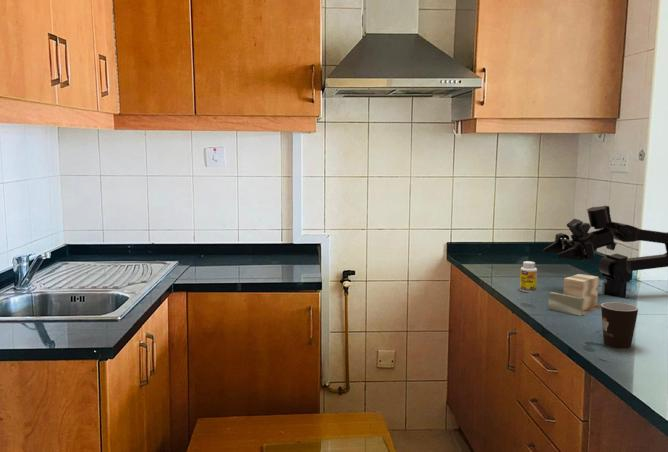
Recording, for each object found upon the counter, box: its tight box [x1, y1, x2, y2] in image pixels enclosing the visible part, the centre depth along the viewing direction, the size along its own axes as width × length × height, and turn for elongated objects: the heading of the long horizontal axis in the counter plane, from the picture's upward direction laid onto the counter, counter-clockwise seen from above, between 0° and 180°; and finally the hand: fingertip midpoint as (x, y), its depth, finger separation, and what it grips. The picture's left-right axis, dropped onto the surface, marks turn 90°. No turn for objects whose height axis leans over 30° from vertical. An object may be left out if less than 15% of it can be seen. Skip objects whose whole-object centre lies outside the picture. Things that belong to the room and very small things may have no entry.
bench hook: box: [547, 291, 601, 317], centre depth 186 cm, size 16×10×6 cm, turn 132°
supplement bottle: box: [519, 260, 538, 293], centre depth 212 cm, size 6×6×10 cm
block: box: [562, 273, 599, 310], centre depth 186 cm, size 10×6×9 cm, turn 132°
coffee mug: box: [600, 301, 639, 350], centre depth 157 cm, size 12×9×10 cm
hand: (550, 253), depth 198 cm, fingers open, 9 cm apart
